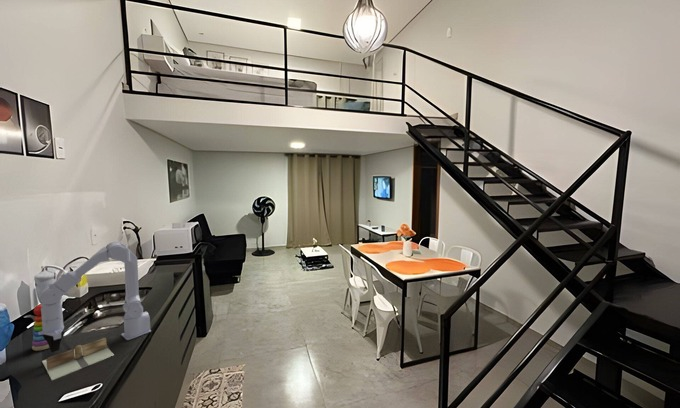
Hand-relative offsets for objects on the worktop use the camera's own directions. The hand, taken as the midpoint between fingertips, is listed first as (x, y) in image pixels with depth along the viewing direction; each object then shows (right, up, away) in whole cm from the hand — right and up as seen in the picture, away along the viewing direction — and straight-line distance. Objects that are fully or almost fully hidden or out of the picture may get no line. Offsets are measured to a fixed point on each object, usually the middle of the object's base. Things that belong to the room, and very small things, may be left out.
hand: (54, 350), depth 111 cm
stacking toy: (-14, -3, +9) cm, 17 cm away
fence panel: (+6, -3, -3) cm, 7 cm away
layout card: (+9, -4, +1) cm, 9 cm away
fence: (+11, -3, +4) cm, 12 cm away
